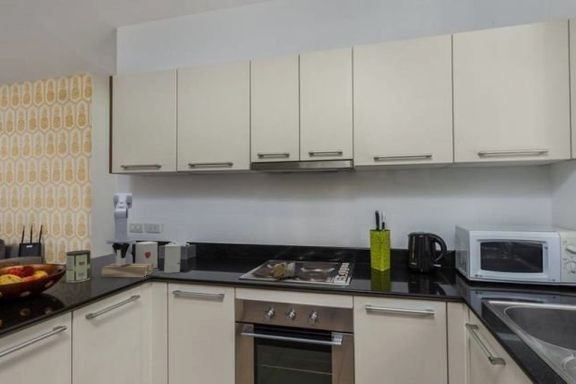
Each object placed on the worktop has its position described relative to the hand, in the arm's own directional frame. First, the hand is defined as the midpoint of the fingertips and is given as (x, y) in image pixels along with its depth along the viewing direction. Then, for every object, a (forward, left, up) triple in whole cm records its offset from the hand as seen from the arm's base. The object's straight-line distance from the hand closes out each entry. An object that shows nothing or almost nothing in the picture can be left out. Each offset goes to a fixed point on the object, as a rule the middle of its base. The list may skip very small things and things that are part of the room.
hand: (121, 257), depth 168 cm
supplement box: (-21, +3, -10) cm, 24 cm away
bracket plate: (0, 0, -4) cm, 3 cm away
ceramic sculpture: (+1, +83, -10) cm, 84 cm away
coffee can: (+7, -18, -10) cm, 22 cm away
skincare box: (-12, +22, -10) cm, 27 cm away
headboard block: (-5, +1, -10) cm, 11 cm away
